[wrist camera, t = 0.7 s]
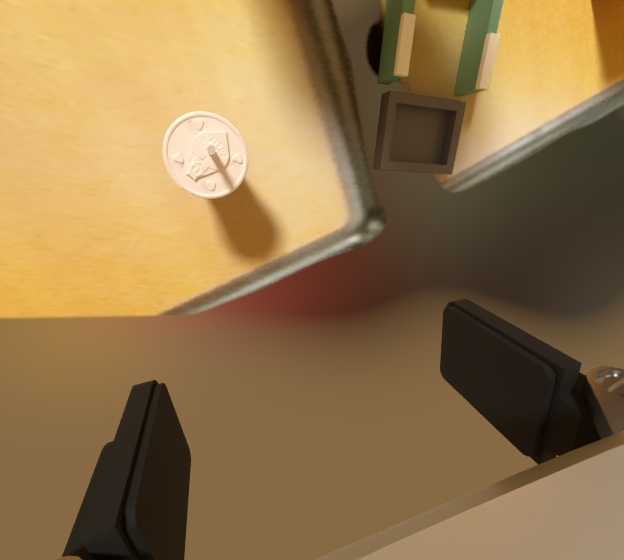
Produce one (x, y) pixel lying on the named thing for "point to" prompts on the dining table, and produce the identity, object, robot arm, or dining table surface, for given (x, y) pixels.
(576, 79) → the dining table surface
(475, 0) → the tunnel
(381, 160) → the tray
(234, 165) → the smoothie
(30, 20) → the dining table surface
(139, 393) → the robot arm
